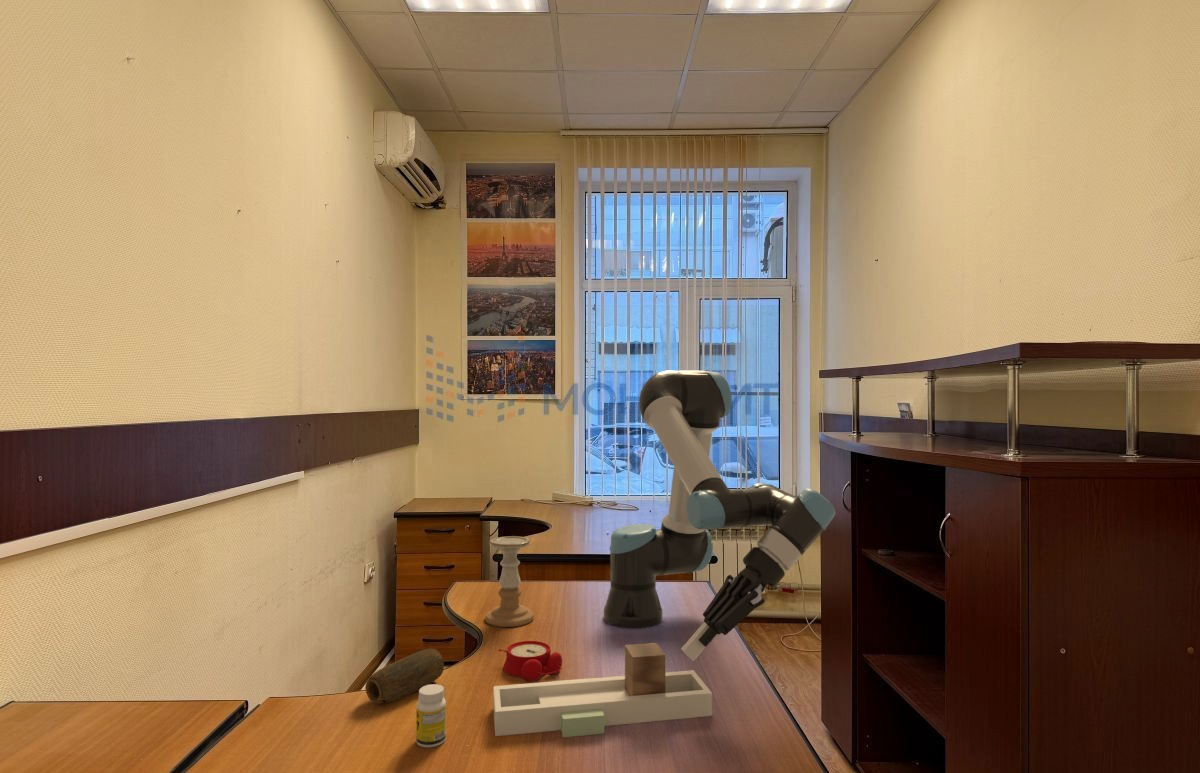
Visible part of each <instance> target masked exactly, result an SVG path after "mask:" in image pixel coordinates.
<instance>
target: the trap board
mask: <svg viewBox="0 0 1200 773" xmlns="http://www.w3.org/2000/svg"><path fill="white" fill-rule="evenodd" d="M577 679H578V680H574V679H564V680H565V681H561V680H552V681H553V682H552V681H543V682H542V681H541V682H529V683H517V684H506V685H494V686H493V699H492V700H493V702H492V703H493V708H492V709H493V723H494V724H493V726H494V736H495V737H501V736H512V735H523V734H533V733H542V732H543V733H544V732H555V731H561V712H568V711H579V710H591V709H602V711H603V713H604V727H608V726H618V725H627V724H630V725H631V724H638V723H641V724H642V723H651V722H661V721H672V720H682V719H692V718H704V717H712V716H713V692H712V691H711V690H710V688H708V686H707V685H706V684H705V682H704V681H703V680H702V678H700V677H699V675H698V674H697V673H696V671H695V670H694V669H693V670H681V671H680V670H679V671H669V672H667V671H665V693H661V694H649V695H638V696H629V695H628V693H627V692H626V690H625V675H615V676H606V677H594V678H593V677H591V678H589V679H586V678H577Z"/></svg>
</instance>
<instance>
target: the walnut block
mask: <svg viewBox="0 0 1200 773" xmlns="http://www.w3.org/2000/svg"><path fill="white" fill-rule="evenodd" d="M665 673H666V653H665V652H664V651H663V650H662V649H661V647H660V646H659V644H658V643H657V642H650V643H649V642H647V643H635V644H632V643H631V644H625V645H624V676H625V690H626V692H627V693H628V695H629V696H638V695H649V694H661V693H665Z"/></svg>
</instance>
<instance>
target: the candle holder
mask: <svg viewBox="0 0 1200 773" xmlns="http://www.w3.org/2000/svg"><path fill="white" fill-rule="evenodd" d="M530 544H531V539H530V538H528V537H524V536H517V535H516V536H515V535H511V536H509V535H508V536H500V537H498V536H497V537H494V538H492V539H490V540H489V546H490V547H493V548H494V549H495V548H497V549H499V550H500V552H501V553H502V555H503V556H502V557H503V558H502V560H501V561H500V563H499V565H500V566H501V567H502V569H501V575H500V578H499V580H498V584H499V586H500V587H501V588H500V589H499V590H498V592H497V593H498V596H499V597H500V598H501V599H500V605H497V606H495V607H493V608H492V609H491V610H489V611H488V612H486V614H485V616H484V617H485V619H484V620H485V622H486V623H487V624H489V625H492V626H494V627H499V628H508V627H509V628H511V627H512V628H513V627H521V626H525V625H526V624H530V623H531V622H532V621H533V620H534V617H535V615H534V612H533V610H531V609H530V608H528V607H527V606H525V605H522V604H520V600H519V597H520V596H521V594H522V590H521V589H520V588H519V587H520V585H521V577H520V574H519V568H518V566H519V565H520V564H521V561H520V560H519V559H518V558H517V556H518V553H519V552H520V551H521V549H522V548H525V547H527V546H530Z"/></svg>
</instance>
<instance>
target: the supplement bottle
mask: <svg viewBox="0 0 1200 773" xmlns="http://www.w3.org/2000/svg"><path fill="white" fill-rule="evenodd" d="M444 696H445V688H444V686H443V685H441V684H437V683H436V684H434V683H433V684H431V683H430V684H428V685H426V686H423V687H422V688H420V689H418V702H417V703H416V725H415V726H416V732H415V734H416V735H415V736H416V737H415V738H416V744H417V745H418V747H422V748H434V747H435V748H436V747H438V746H441V745H442V744H443V743H445V741H446V738H447V701H446V699H445V697H444Z"/></svg>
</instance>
